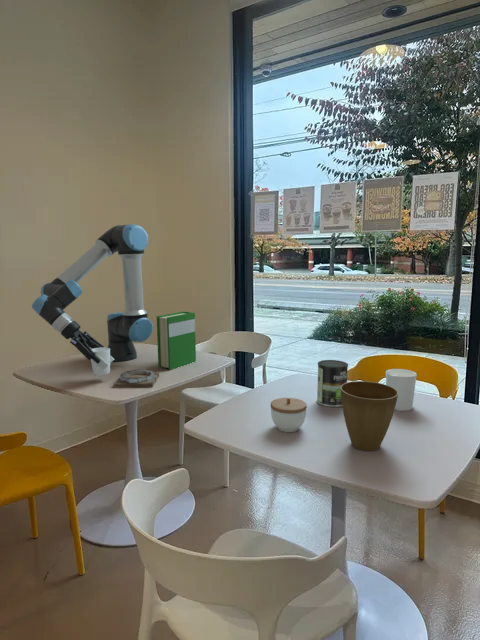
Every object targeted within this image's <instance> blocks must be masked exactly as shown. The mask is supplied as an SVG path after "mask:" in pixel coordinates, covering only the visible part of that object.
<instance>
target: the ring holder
mask: <svg viewBox="0 0 480 640" xmlns="http://www.w3.org/2000/svg"><path fill="white" fill-rule="evenodd" d="M159 378H160V372H154V371H153V370H147V369H135V370H128V371H125V372H121V374H120V375H119V378H118V379H117V380H116V381H115V382H114V383H113V388H153V387H154V386H155V383H156V382H157V380H158V379H159Z"/></svg>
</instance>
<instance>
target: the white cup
mask: <svg viewBox="0 0 480 640" xmlns="http://www.w3.org/2000/svg"><path fill="white" fill-rule="evenodd" d="M91 349H92V348H91ZM92 351H93V352H94V353H95V355H96V354H97V355H99V356H100V357H101V358H102V359H103V360H104V361H105V362H106V363H107V364H109V365H108V366H107V367H106V368H105V369H104V370H103V369H102V368H101V367H100V366H99V365H98V364H97V363H96V362H94V361H93V360H92V359H91V360H90V363H91V368H92V374H93V376H106V375H108V374H110V373H111V364H110V348H107V347H105V346H104V347H100V348H94V349H92Z"/></svg>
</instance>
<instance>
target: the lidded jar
mask: <svg viewBox="0 0 480 640" xmlns="http://www.w3.org/2000/svg"><path fill="white" fill-rule="evenodd" d="M307 407H308V404H307V403H306V401H304V400H303V399H299V398H295V397H280V398H276V399H275V398H274V399H273V400H272V401H271V402H270V415H271V419H272V422H273V424H274V425H275V426H276V428H278V429H277V430H279V431H281V432H283V433H295V432H297V431H298V430H299V429H300V428H301V427H302V426H303V424H304V423H305V419H306V417H307Z"/></svg>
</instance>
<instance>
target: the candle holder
mask: <svg viewBox="0 0 480 640" xmlns="http://www.w3.org/2000/svg"><path fill="white" fill-rule="evenodd" d="M417 377H418V376H417V373H416V371H413V370H409V369H404V368H391V369H387V370H385V385H388V386H391V387H393V388H395V389H396V390H397V391H398V397H397V402H396V406H395V410H394V411H399V412H407V411H411V410H412V409H413V406H414V399H415V391H416V381H417Z"/></svg>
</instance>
